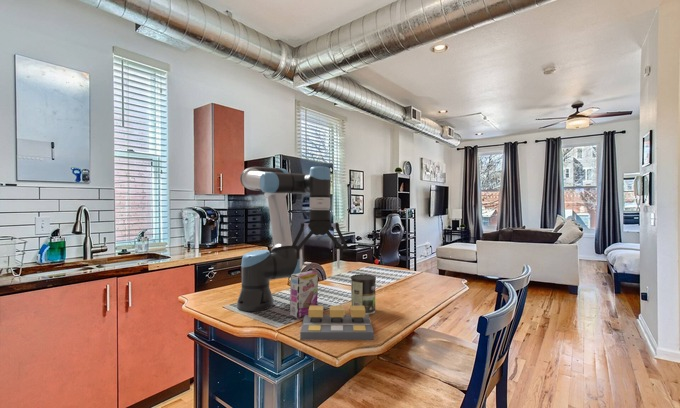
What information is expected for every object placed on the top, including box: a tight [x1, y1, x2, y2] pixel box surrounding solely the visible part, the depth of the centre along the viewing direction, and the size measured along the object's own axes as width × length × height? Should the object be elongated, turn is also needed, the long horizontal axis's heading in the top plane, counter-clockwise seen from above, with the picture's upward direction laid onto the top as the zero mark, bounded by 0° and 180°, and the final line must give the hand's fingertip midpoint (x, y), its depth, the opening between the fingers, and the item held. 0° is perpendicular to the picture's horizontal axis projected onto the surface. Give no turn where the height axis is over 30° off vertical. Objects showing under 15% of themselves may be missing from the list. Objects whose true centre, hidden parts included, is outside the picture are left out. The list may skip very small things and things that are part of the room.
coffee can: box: [350, 273, 377, 316], centre depth 131 cm, size 10×10×14 cm
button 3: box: [350, 305, 365, 322], centre depth 114 cm, size 5×5×5 cm
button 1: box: [308, 304, 324, 322], centre depth 114 cm, size 5×5×5 cm
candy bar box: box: [289, 270, 319, 319], centre depth 127 cm, size 11×5×16 cm, turn 141°
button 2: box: [329, 305, 345, 322], centre depth 114 cm, size 5×5×5 cm
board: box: [299, 314, 375, 341], centre depth 111 cm, size 24×16×3 cm, turn 91°
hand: (319, 267), depth 115 cm, fingers open, 13 cm apart
